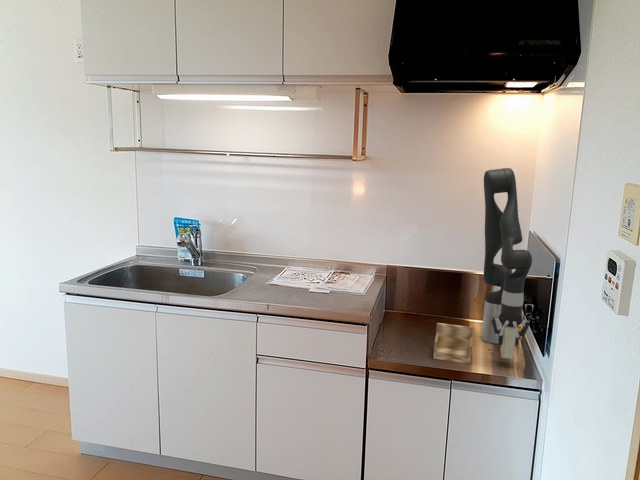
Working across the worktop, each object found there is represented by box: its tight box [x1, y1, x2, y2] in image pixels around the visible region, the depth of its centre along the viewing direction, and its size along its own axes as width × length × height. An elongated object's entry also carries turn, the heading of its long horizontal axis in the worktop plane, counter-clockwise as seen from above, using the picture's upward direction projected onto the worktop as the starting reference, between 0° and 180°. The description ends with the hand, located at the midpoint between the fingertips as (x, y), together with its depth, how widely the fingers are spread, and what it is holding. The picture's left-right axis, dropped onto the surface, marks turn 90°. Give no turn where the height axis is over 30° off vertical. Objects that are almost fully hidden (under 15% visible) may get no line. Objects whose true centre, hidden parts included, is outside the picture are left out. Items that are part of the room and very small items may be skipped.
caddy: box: [433, 322, 474, 365], centre depth 198 cm, size 14×10×11 cm
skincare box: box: [499, 326, 518, 360], centre depth 190 cm, size 6×4×12 cm
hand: (507, 344), depth 191 cm, fingers closed on skincare box, 4 cm apart
